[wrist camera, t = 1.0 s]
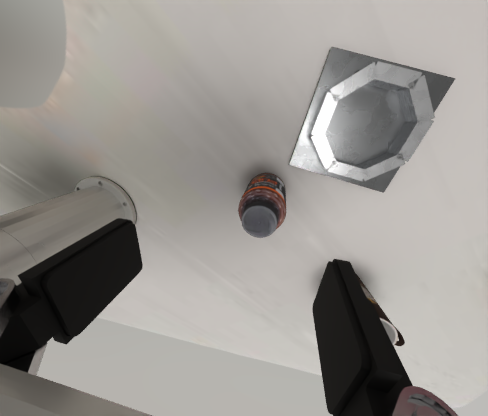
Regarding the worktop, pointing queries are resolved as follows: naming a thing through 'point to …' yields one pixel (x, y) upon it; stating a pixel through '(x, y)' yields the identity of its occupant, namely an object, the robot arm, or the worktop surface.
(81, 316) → the robot arm
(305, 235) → the worktop surface
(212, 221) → the worktop surface
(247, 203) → the supplement bottle
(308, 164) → the ring plate
